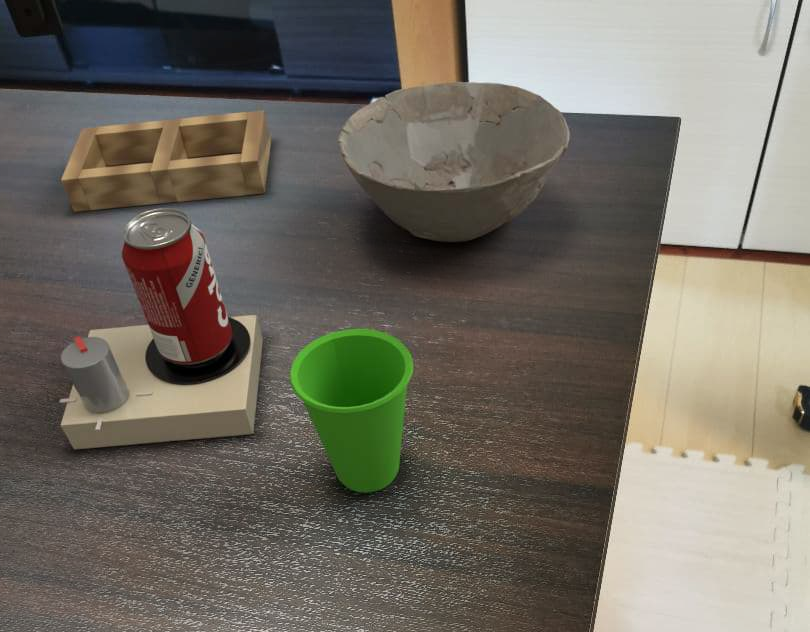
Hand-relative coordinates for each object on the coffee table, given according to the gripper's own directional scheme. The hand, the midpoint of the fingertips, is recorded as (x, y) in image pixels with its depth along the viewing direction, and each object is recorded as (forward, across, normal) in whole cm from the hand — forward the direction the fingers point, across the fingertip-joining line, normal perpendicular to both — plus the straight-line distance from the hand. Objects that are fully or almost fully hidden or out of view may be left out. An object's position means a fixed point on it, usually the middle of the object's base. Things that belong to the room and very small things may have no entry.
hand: (57, 7), depth 63 cm
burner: (+25, +10, +5) cm, 27 cm away
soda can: (+25, +10, +5) cm, 27 cm away
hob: (+28, +12, +2) cm, 31 cm away
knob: (+25, +15, -2) cm, 29 cm away
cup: (+28, +24, +20) cm, 42 cm away
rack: (+28, -28, -3) cm, 40 cm away
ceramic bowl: (+28, -12, +30) cm, 43 cm away
